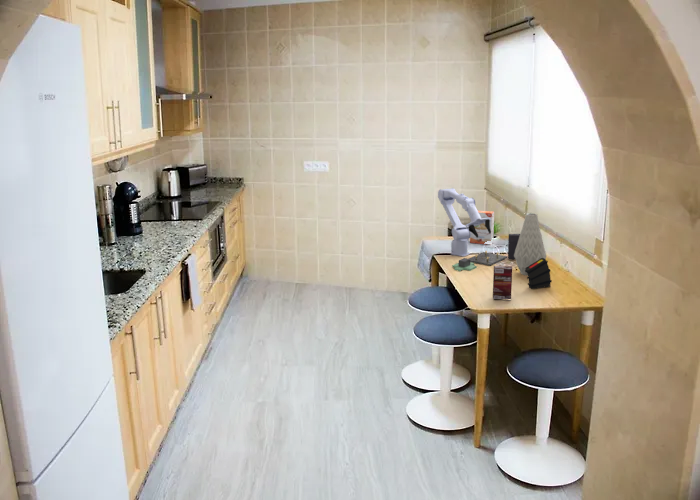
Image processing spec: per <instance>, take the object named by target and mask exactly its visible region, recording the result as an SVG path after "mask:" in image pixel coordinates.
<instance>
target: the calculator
mask: <svg viewBox="0 0 700 500" xmlns="http://www.w3.org/2000/svg"><path fill="white" fill-rule="evenodd" d="M519 237H520V233H508V239H507V240H508V242H507V243H508V244H507V245H508V246H507V248H508V249H507V256H508V258H507V259H508V260H509V261H516V259H515V257H514V253H515V249H516V247H517V243H518V240H519Z"/></svg>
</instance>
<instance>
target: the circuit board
mask: <svg viewBox="0 0 700 500" xmlns="http://www.w3.org/2000/svg"><path fill="white" fill-rule="evenodd" d="M451 267H452V268H453V267H454V271H455V270H458V271H457V272H462V271H467V272H468V271H469V272H471V271H473V270H475V269H478V268H477V267H478V265H475V263H472V262H470V259H469V258H467V257H464V258H460V259H458V262H457V263H454V264H452V266H451ZM461 270H462V271H461Z"/></svg>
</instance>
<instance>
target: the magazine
mask: <svg viewBox="0 0 700 500" xmlns="http://www.w3.org/2000/svg"><path fill="white" fill-rule="evenodd" d="M548 262H549V261H548V260H547V258H546V259H544V258H541V259H539V260H538V261H536V262H534V263H533V264H531V265H530V266H528V267H526V268H525V272H527V274H528V276H527V277H526V279H528V283H527V285H528V289H531V290H536V289H544V288H551V283H552V280H551V269H550V267H549V264H548Z"/></svg>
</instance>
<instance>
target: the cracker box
mask: <svg viewBox="0 0 700 500" xmlns="http://www.w3.org/2000/svg"><path fill="white" fill-rule="evenodd" d="M478 212H479V214H480V216H481V218H488V217H490V219H491V222H490V230H491V233H490V234H489V232H488V230H487V228H486V227H485V223H483V224H480V225H478V226H474V227H475V230H476V232H477V234H478V238H477V237H476V236H475V235H474V234H473V233H472V232H471V237H470V238H469V243H470V244H478V245H479V244H480V245H485V244H484V243H485V242H487V241H491V240H492V238H493V239H494V234H495V233H494V232H495V231H494V230H495V227H494V226H495V211H491V210H490V211H488V210H478ZM469 219H470V218H469ZM471 222H472V221H471V219H470V222H469V223H471Z"/></svg>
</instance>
